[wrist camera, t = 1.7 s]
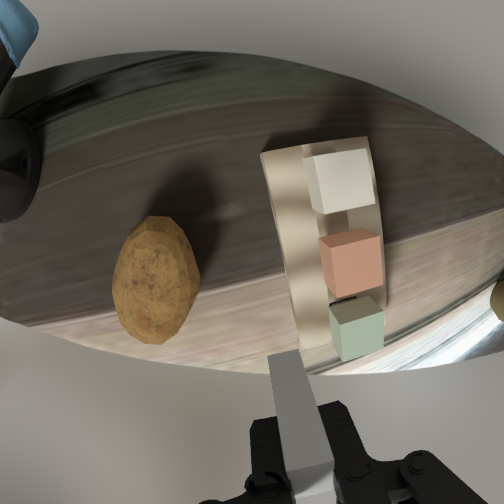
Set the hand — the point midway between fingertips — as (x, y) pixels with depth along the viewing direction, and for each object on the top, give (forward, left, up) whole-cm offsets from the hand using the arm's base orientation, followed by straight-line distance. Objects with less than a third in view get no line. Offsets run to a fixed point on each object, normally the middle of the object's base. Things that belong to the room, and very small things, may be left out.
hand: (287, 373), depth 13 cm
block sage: (+12, +3, -18) cm, 22 cm away
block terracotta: (+5, +7, -18) cm, 20 cm away
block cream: (-2, +11, -18) cm, 21 cm away
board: (+5, +7, -20) cm, 22 cm away
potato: (-7, -9, -21) cm, 23 cm away
